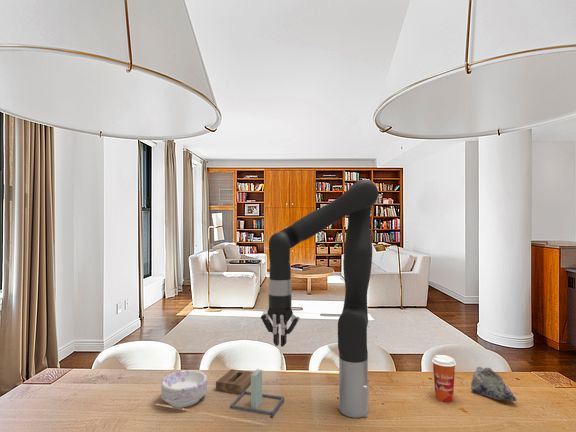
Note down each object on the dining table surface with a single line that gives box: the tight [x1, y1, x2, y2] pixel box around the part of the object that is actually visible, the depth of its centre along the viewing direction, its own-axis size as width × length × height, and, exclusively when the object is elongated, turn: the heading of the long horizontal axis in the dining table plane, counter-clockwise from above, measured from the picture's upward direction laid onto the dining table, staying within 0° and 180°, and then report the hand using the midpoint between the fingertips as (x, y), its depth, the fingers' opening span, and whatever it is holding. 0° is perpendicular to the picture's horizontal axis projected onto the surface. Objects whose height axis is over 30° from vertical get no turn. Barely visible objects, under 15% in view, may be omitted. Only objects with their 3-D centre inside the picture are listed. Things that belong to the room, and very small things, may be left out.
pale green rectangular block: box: [250, 369, 263, 409], centre depth 121 cm, size 2×5×11 cm, turn 160°
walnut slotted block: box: [215, 368, 255, 396], centre depth 135 cm, size 10×12×4 cm
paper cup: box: [431, 354, 457, 403], centre depth 127 cm, size 8×8×14 cm
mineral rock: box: [470, 366, 518, 402], centre depth 128 cm, size 13×11×10 cm
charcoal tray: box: [229, 390, 285, 419], centre depth 122 cm, size 15×11×2 cm
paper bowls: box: [160, 369, 208, 409], centre depth 125 cm, size 15×15×8 cm
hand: (280, 345), depth 120 cm, fingers closed
